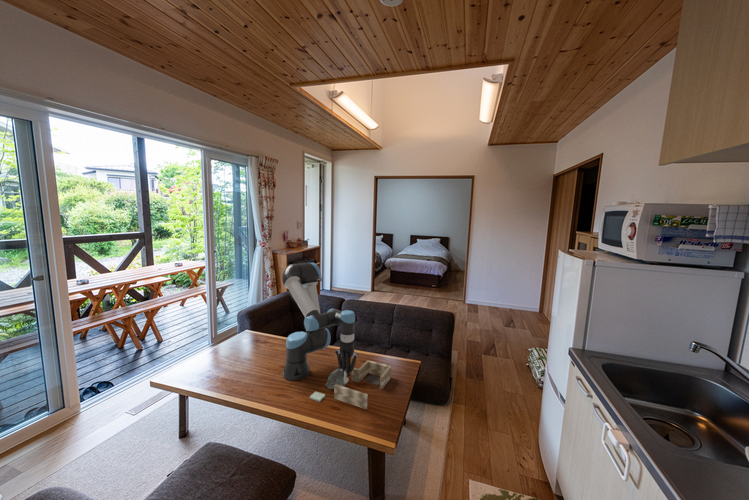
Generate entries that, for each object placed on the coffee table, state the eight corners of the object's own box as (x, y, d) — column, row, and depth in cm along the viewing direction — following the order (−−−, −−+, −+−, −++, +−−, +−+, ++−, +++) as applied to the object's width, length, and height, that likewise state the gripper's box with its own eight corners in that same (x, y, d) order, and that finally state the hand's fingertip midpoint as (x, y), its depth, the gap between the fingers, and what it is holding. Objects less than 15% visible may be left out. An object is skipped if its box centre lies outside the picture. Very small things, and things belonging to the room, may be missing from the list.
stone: (335, 373, 150) (341, 363, 160) (321, 382, 152) (328, 372, 162) (346, 387, 150) (352, 377, 160) (332, 397, 152) (338, 386, 162)
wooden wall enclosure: (334, 398, 145) (334, 385, 145) (361, 369, 174) (362, 358, 173) (367, 409, 138) (368, 396, 137) (390, 377, 166) (391, 366, 166)
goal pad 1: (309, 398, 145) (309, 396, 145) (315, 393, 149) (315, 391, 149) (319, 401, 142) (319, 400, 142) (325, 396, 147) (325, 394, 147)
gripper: (332, 340, 150) (331, 382, 153) (354, 345, 145) (353, 389, 148) (340, 335, 157) (339, 375, 160) (361, 340, 152) (359, 381, 154)
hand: (346, 382), depth 154 cm, fingers closed
